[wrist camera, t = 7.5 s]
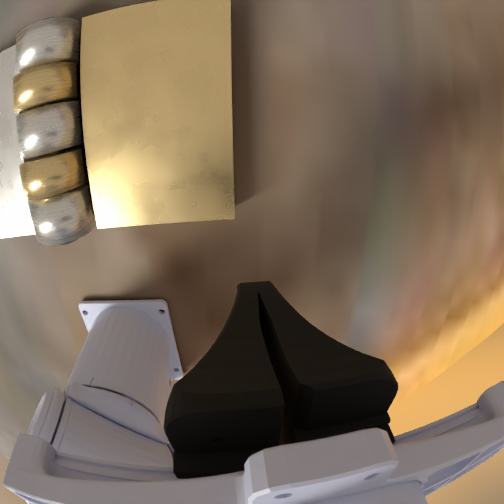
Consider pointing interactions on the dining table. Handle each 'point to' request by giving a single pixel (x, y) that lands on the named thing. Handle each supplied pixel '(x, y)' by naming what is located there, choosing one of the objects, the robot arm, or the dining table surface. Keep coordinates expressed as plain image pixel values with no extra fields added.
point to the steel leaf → (40, 139)
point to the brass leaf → (143, 114)
